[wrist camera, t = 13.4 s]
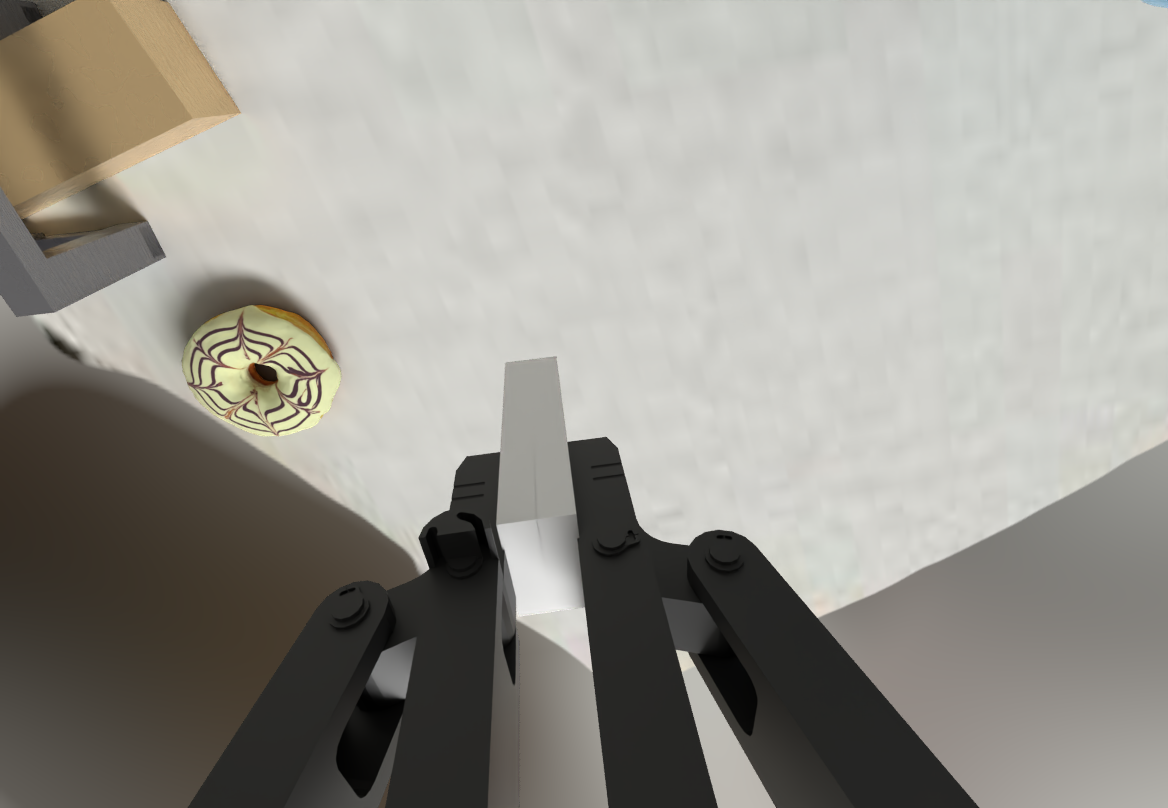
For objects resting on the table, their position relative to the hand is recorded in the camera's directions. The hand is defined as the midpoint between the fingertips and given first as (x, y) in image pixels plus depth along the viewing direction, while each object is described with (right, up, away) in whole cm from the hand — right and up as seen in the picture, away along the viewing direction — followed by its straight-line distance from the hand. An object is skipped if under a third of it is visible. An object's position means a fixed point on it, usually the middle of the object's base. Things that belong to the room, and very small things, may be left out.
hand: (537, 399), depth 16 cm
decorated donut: (-24, +3, +27) cm, 36 cm away
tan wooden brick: (-31, +17, +17) cm, 39 cm away
